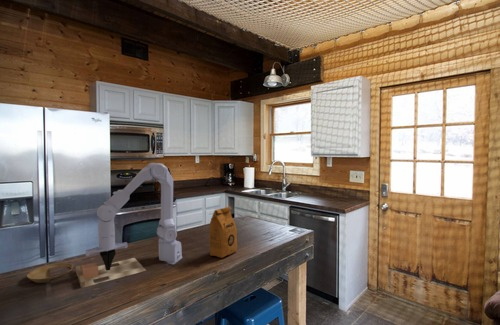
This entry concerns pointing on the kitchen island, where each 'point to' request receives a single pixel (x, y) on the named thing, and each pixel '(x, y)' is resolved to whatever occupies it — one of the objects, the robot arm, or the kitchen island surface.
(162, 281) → the kitchen island surface
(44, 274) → the plant saucer
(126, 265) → the box
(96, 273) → the rust block
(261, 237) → the kitchen island surface
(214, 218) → the coffee package
